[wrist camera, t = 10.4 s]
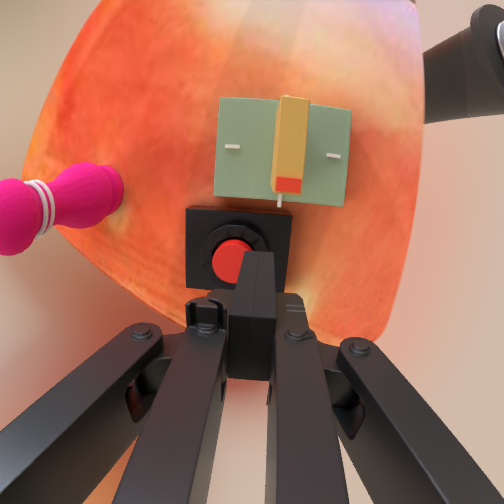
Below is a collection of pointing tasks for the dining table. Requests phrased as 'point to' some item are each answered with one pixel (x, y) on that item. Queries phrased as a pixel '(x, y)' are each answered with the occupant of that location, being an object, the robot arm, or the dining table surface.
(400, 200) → the dining table surface
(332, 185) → the plate
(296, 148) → the handle
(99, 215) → the pepper mill
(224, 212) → the button block
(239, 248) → the button
